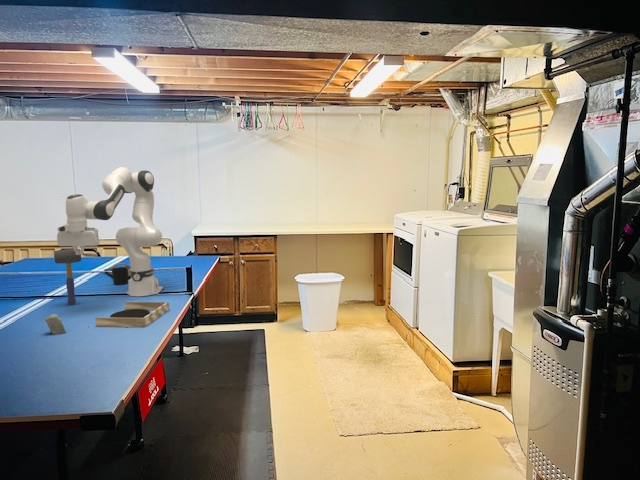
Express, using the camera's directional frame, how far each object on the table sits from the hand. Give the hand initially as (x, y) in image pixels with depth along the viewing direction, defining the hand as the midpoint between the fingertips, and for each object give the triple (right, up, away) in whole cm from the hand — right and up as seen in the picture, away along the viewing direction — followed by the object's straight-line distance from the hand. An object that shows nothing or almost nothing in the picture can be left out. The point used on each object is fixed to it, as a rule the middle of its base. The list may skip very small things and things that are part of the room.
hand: (79, 254), depth 231 cm
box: (+30, -30, -8) cm, 44 cm away
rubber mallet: (-13, -27, +17) cm, 35 cm away
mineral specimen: (+5, -33, -29) cm, 45 cm away
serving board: (-17, -18, +96) cm, 99 cm away
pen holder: (-7, -21, +65) cm, 69 cm away
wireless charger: (+29, -31, -8) cm, 43 cm away
